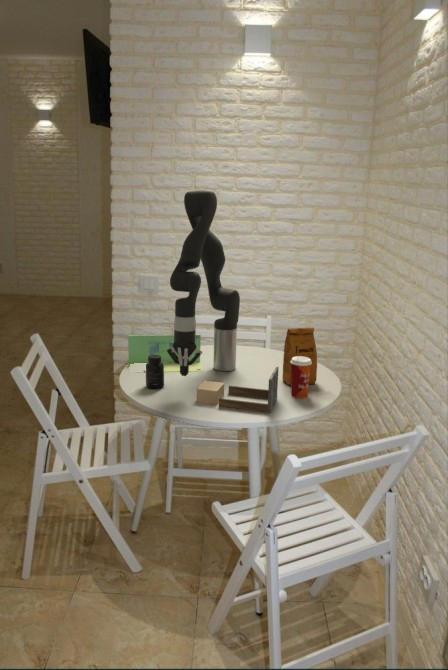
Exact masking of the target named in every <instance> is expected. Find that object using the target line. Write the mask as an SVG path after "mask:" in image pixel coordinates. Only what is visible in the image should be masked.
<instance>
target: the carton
mask: <svg viewBox="0 0 448 670" xmlns="http://www.w3.org/2000/svg"><path fill="white" fill-rule="evenodd" d="M195 397H196V402H197V403H204V404H211V405H218V404H219V398H222V399H223V398H224V397H225V382H218V381H210V380H203V381H202V383H201V384H200V385H198V387H197V388H196V396H195Z"/></svg>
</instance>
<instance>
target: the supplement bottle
mask: <svg viewBox="0 0 448 670" xmlns="http://www.w3.org/2000/svg"><path fill="white" fill-rule="evenodd" d="M145 387H146V388H147V389H149V390H152V391H153V390H155V391H156V390H157V391H158V390H160V389H162V388H164V387H165V372H164V365H163V363H162V362H161V356H160V355H149V356H148V363H147V364H146V372H145Z"/></svg>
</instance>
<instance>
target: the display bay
mask: <svg viewBox="0 0 448 670" xmlns="http://www.w3.org/2000/svg"><path fill="white" fill-rule="evenodd" d="M279 369H280V368H279V366H276V367H275V368H274V370H273V372H272V374H271V375H270V377H269V378H268V387H267V389H263V388H255V387H253V388H252V387H246V386H237V385H235V386H234V385H228V391H227V392H228V395H235V396H243V397H252V398H260V399H267V403H263V402H255V401H248V400H247V401H246V400H238V399H229V398H223V397H222V398H219V402H218V408H221V409H229V410H230V409H232V410H239V411H245V412H246V411H248V412H254V413H255V412H256V413H264V414H271V411H272V410H273V407H274V406H275V403H276V402H277V399H278V387H279V386H278V385H279Z"/></svg>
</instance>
